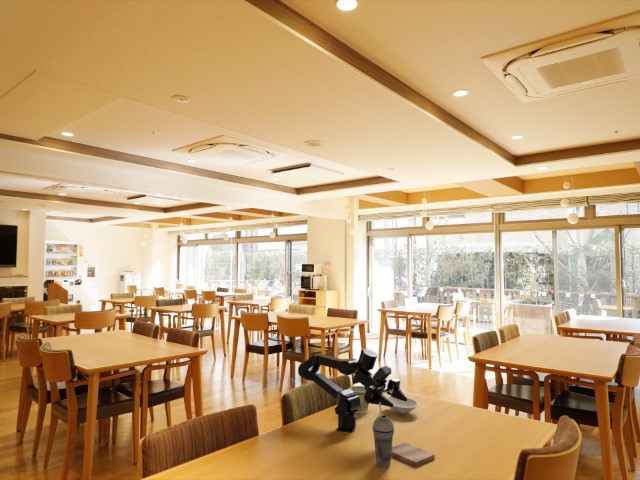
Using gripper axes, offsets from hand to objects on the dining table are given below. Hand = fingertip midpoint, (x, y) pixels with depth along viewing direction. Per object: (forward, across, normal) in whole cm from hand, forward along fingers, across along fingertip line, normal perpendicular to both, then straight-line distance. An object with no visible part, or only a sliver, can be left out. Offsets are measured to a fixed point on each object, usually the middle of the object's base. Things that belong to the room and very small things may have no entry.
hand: (400, 403), depth 158 cm
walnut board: (+12, -4, +12) cm, 18 cm away
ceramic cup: (-26, +22, +27) cm, 44 cm away
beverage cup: (+9, -16, +14) cm, 23 cm away
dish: (-13, +33, +22) cm, 42 cm away
